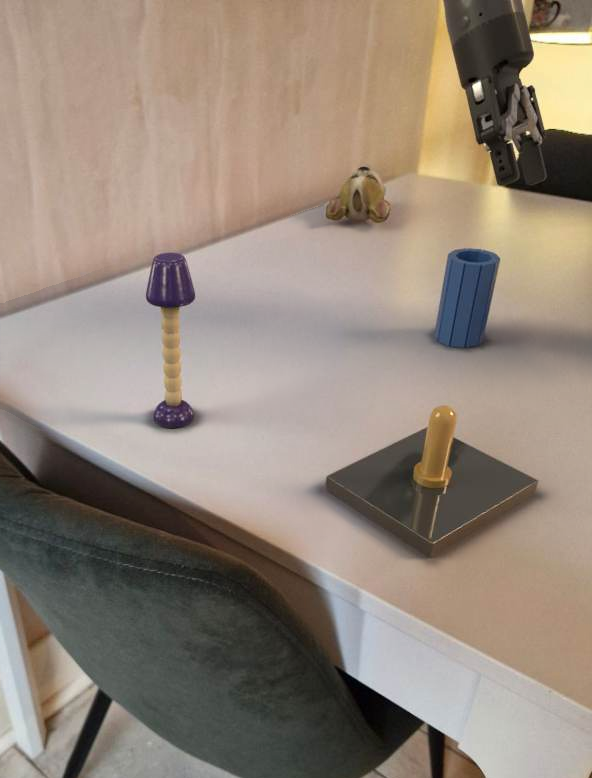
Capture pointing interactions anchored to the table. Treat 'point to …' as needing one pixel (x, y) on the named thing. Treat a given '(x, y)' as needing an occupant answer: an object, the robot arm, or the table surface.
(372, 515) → the yellow peg on plate
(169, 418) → the toy lamp
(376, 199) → the ceramic sculpture
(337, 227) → the table surface
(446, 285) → the sleeve
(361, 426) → the table surface
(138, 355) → the table surface
